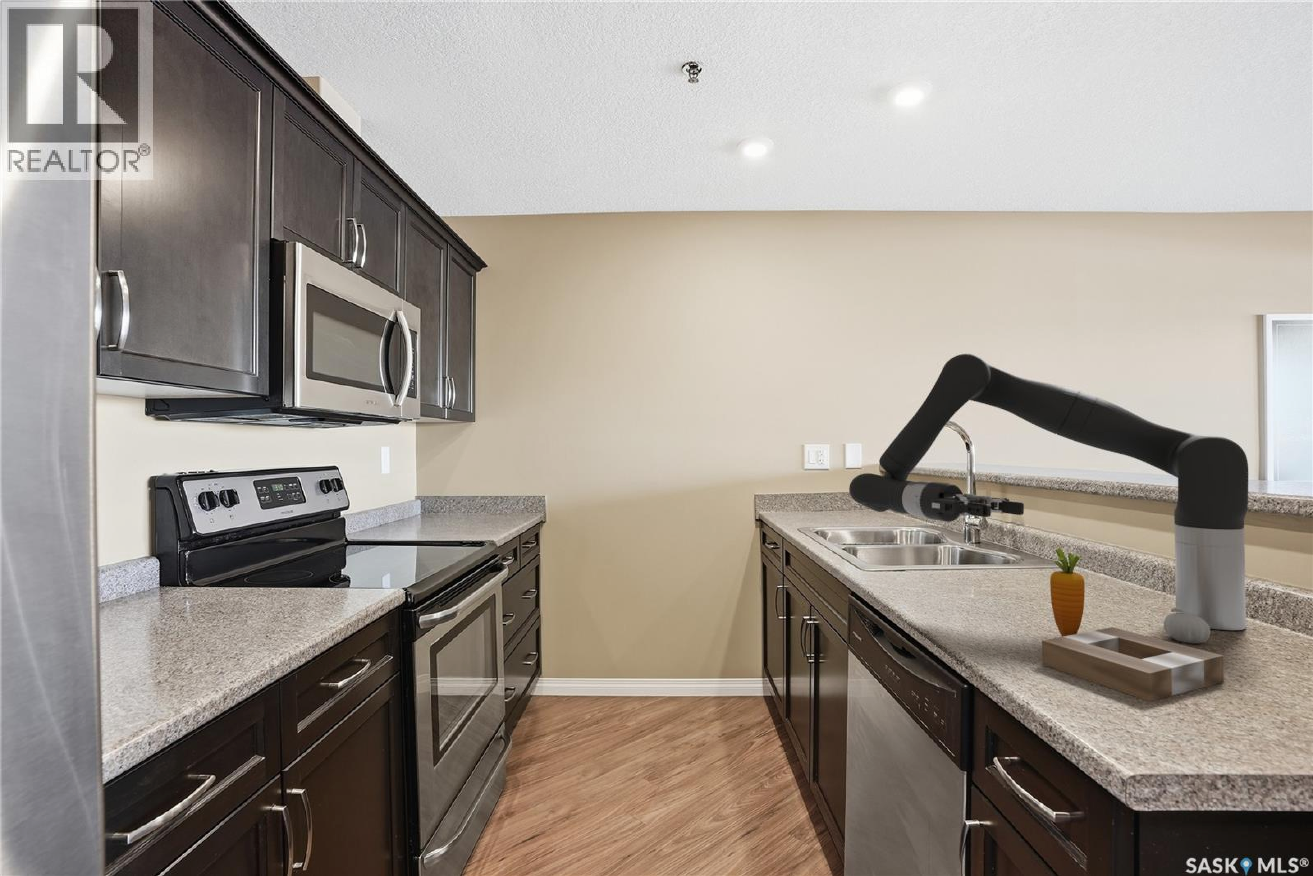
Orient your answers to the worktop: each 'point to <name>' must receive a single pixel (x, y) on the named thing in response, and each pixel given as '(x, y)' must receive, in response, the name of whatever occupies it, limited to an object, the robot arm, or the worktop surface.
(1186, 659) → the brown and silver frame
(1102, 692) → the worktop surface
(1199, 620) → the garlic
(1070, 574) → the carrot
